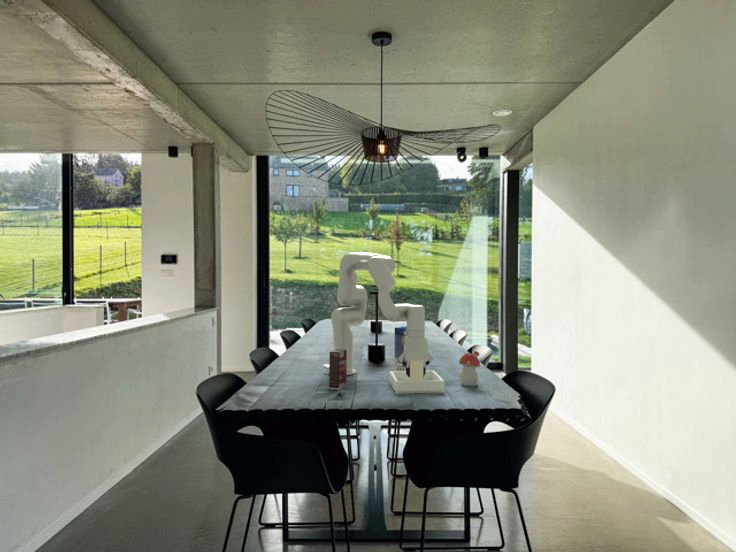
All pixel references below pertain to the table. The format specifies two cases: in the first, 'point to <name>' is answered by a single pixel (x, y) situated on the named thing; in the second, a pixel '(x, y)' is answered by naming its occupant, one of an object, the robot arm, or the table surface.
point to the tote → (416, 383)
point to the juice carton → (416, 371)
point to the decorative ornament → (469, 369)
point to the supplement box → (337, 369)
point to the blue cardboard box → (399, 347)
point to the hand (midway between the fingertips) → (415, 376)
